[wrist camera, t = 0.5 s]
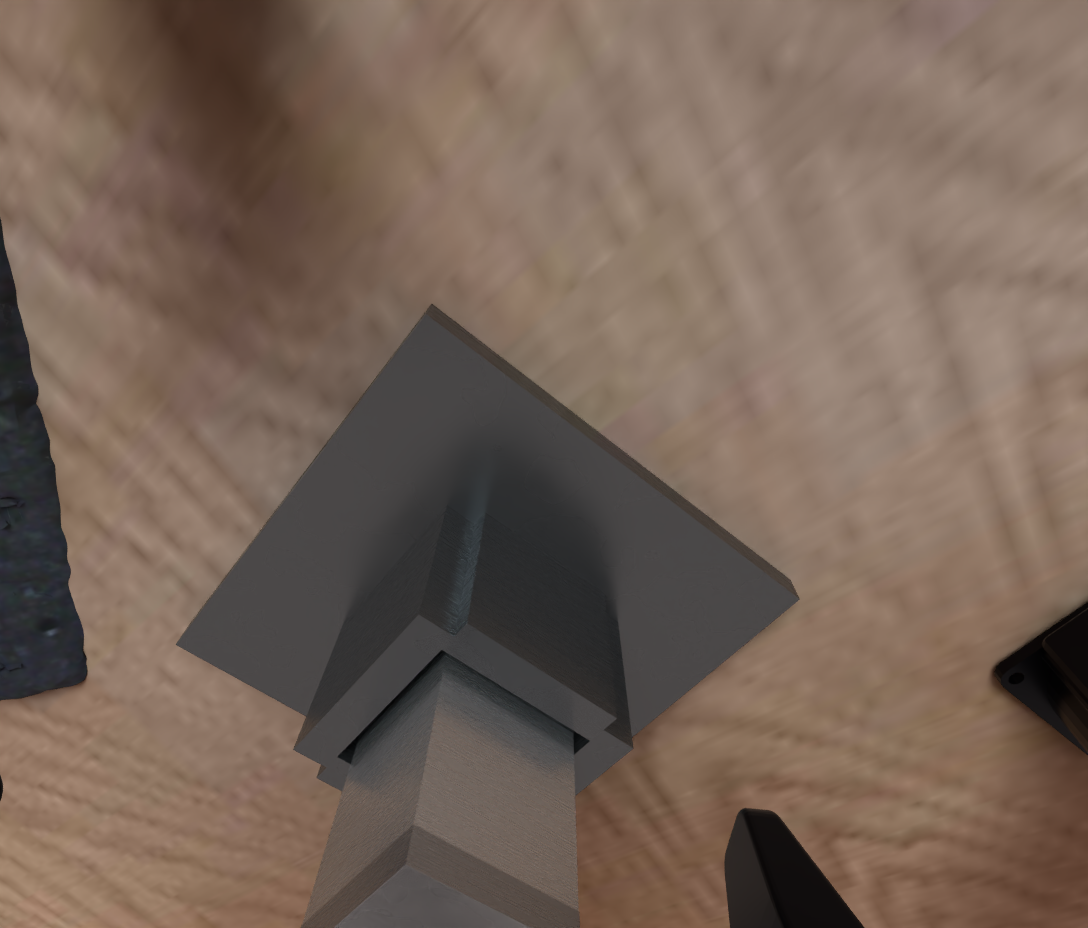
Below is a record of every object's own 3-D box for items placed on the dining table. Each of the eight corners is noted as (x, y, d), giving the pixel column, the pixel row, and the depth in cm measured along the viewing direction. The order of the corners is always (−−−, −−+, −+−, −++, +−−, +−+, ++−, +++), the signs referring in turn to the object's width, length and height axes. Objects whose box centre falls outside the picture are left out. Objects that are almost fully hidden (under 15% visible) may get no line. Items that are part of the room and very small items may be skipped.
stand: (790, 579, 24) (860, 724, 18) (518, 808, 29) (509, 974, 23) (431, 304, 20) (385, 383, 14) (189, 624, 25) (88, 772, 19)
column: (570, 618, 23) (580, 953, 14) (491, 692, 24) (455, 1040, 15) (466, 548, 22) (405, 864, 13) (390, 630, 23) (288, 966, 14)
